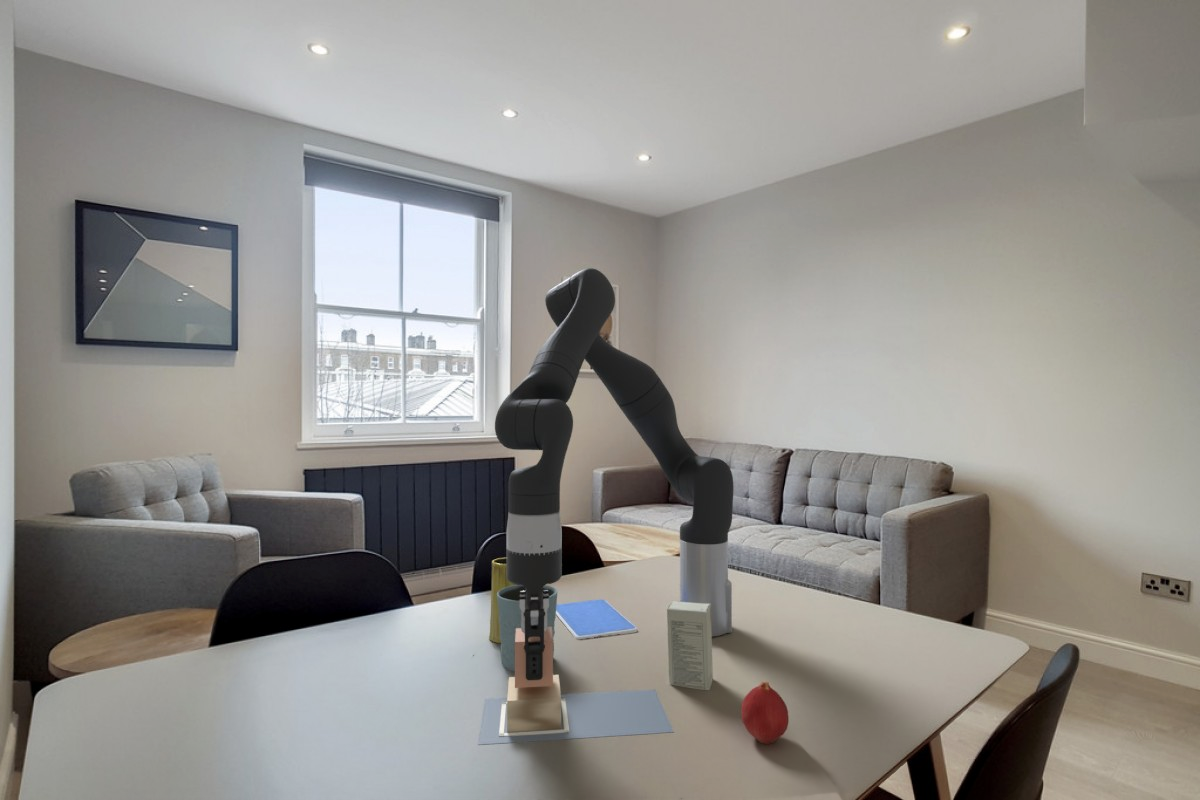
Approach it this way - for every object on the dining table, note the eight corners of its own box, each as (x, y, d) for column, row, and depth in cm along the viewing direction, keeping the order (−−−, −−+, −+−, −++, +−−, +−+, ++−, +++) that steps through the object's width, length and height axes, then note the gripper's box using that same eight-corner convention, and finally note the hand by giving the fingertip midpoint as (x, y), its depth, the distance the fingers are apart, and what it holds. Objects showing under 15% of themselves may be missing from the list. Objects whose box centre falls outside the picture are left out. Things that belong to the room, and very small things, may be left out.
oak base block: (558, 702, 85) (558, 674, 85) (561, 728, 78) (561, 697, 78) (508, 705, 84) (508, 677, 85) (507, 732, 78) (507, 700, 78)
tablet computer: (639, 634, 114) (639, 627, 115) (576, 643, 110) (576, 636, 110) (604, 604, 133) (604, 598, 133) (549, 610, 128) (549, 604, 128)
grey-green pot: (507, 681, 93) (508, 604, 94) (488, 658, 102) (488, 587, 103) (567, 669, 98) (567, 595, 98) (543, 647, 107) (544, 579, 107)
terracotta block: (551, 669, 84) (551, 626, 84) (552, 685, 79) (552, 640, 79) (515, 671, 84) (515, 628, 84) (514, 687, 79) (515, 642, 79)
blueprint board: (654, 693, 89) (654, 688, 89) (674, 736, 78) (674, 731, 78) (485, 702, 87) (485, 698, 87) (477, 749, 75) (477, 743, 75)
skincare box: (713, 682, 93) (713, 603, 93) (709, 694, 89) (708, 612, 89) (672, 676, 95) (672, 599, 95) (666, 688, 91) (666, 607, 91)
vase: (525, 632, 114) (525, 557, 115) (518, 644, 108) (518, 565, 109) (494, 631, 115) (494, 556, 115) (485, 643, 109) (485, 564, 109)
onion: (735, 732, 78) (735, 671, 79) (778, 730, 79) (777, 669, 79) (750, 758, 73) (749, 691, 73) (796, 756, 73) (795, 690, 73)
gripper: (564, 556, 75) (564, 693, 75) (559, 533, 89) (559, 648, 89) (504, 558, 74) (503, 696, 74) (508, 534, 89) (508, 650, 88)
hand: (534, 669), depth 82 cm, fingers closed on terracotta block, 4 cm apart
